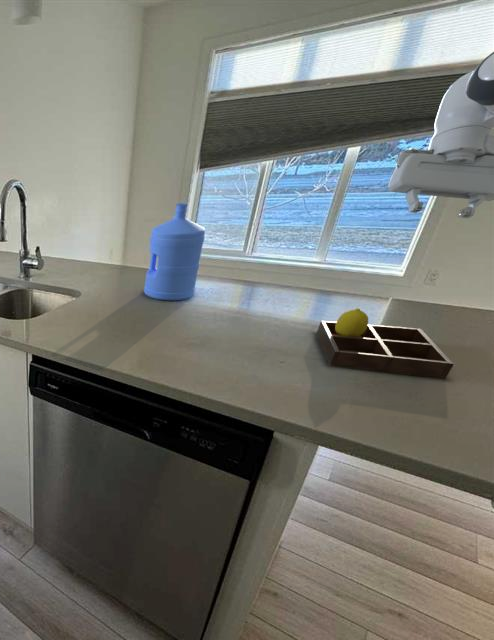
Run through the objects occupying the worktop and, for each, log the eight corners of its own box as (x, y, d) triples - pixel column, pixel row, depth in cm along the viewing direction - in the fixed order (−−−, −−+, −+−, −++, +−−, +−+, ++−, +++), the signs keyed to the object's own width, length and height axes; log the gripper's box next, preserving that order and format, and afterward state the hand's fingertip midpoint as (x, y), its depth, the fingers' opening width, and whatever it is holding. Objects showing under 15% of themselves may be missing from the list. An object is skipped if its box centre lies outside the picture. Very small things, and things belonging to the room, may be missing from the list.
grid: (413, 342, 94) (420, 328, 92) (445, 379, 80) (454, 363, 79) (316, 333, 102) (320, 320, 100) (329, 365, 88) (335, 351, 87)
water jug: (200, 290, 136) (217, 200, 122) (184, 304, 127) (201, 208, 113) (154, 284, 146) (165, 200, 132) (136, 297, 136) (146, 207, 122)
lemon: (341, 334, 99) (353, 303, 95) (366, 342, 95) (380, 310, 91) (324, 338, 98) (336, 307, 94) (349, 347, 93) (362, 314, 89)
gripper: (411, 139, 88) (395, 202, 88) (528, 147, 83) (511, 213, 83) (389, 155, 94) (374, 214, 94) (497, 164, 89) (481, 225, 90)
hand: (439, 214), depth 89 cm, fingers open, 8 cm apart
